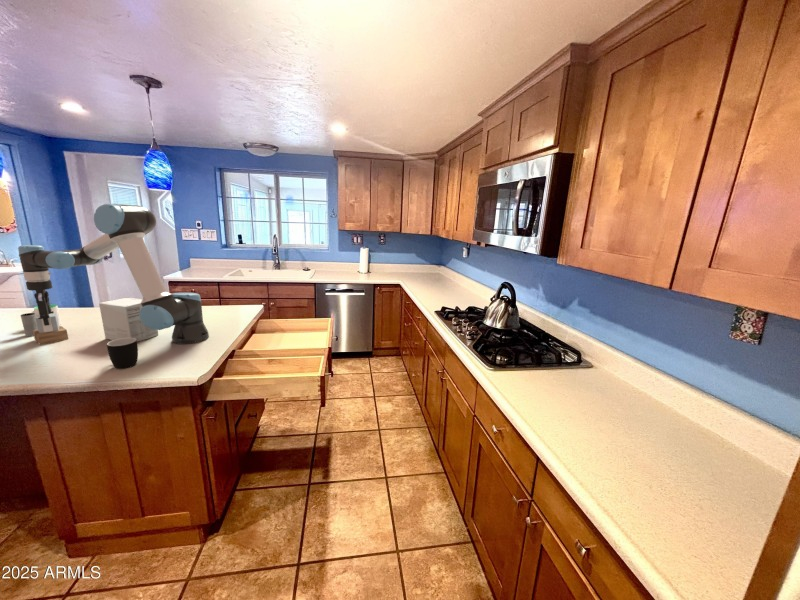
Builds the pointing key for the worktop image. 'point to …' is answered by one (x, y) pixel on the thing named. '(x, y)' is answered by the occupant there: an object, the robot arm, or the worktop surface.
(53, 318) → the slate block
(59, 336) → the walnut block
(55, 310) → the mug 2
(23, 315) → the grey tall cylinder
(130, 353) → the mug
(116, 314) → the supplement box
